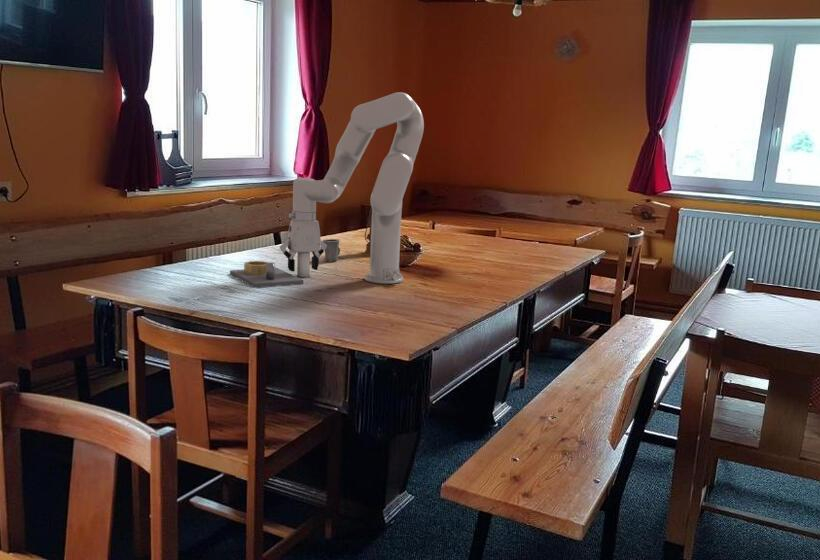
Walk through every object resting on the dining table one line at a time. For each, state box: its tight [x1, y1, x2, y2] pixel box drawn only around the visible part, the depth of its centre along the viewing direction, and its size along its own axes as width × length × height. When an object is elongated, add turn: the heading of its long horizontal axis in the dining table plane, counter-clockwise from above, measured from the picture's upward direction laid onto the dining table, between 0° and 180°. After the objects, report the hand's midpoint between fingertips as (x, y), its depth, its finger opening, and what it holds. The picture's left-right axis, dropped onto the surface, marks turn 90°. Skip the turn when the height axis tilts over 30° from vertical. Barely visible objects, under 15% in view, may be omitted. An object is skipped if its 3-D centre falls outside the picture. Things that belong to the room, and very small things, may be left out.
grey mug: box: [322, 238, 341, 263], centre depth 276 cm, size 6×13×8 cm, turn 174°
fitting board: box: [229, 266, 304, 288], centre depth 238 cm, size 22×16×1 cm
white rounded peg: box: [296, 252, 311, 278], centre depth 244 cm, size 4×4×8 cm
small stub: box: [266, 261, 276, 280], centre depth 232 cm, size 3×3×5 cm
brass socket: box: [243, 260, 269, 275], centre depth 241 cm, size 8×8×3 cm
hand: (303, 269), depth 245 cm, fingers open, 7 cm apart
